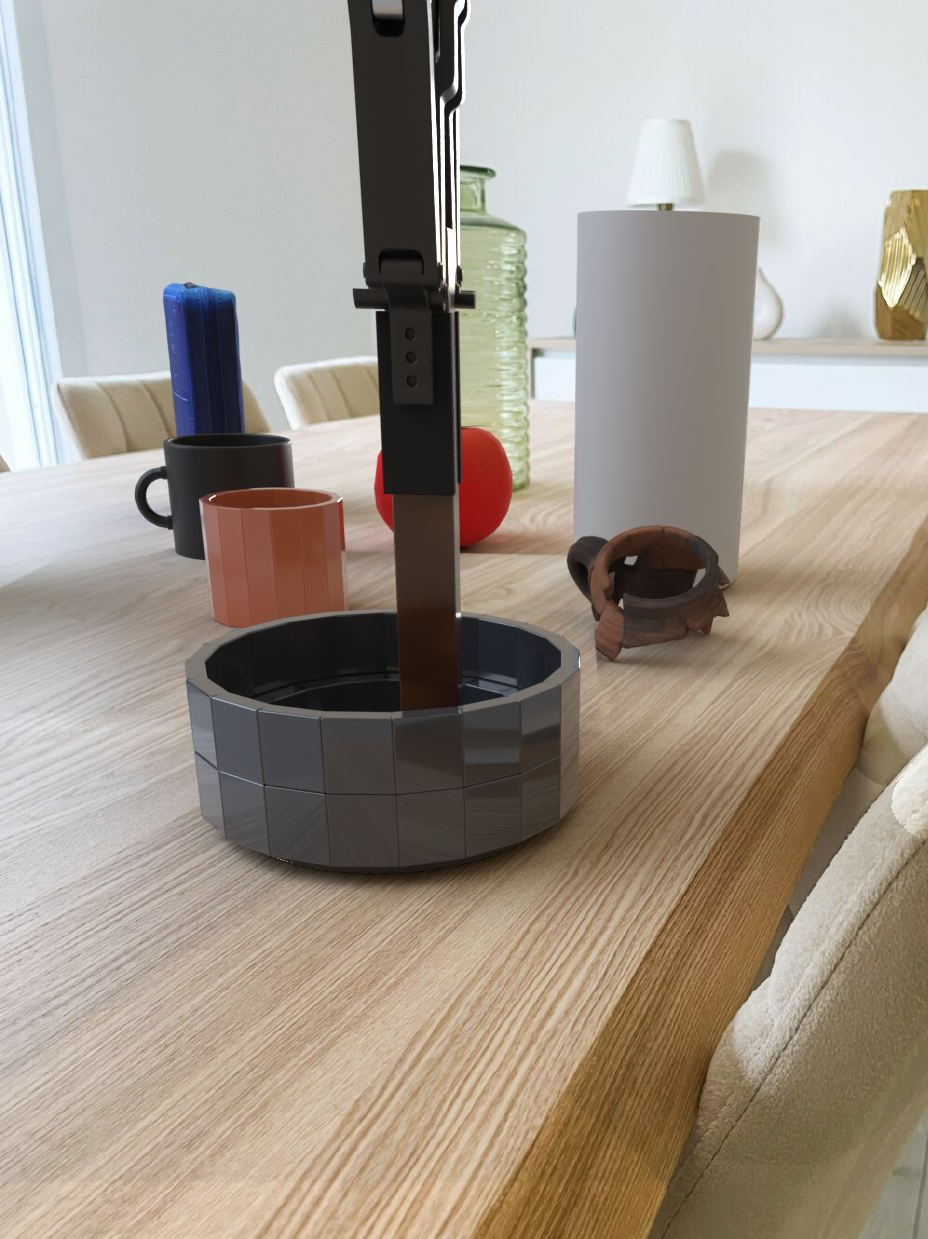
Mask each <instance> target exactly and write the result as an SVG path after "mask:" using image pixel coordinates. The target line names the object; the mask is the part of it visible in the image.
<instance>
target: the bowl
mask: <svg viewBox="0 0 928 1239" xmlns="http://www.w3.org/2000/svg"><path fill="white" fill-rule="evenodd" d="M461 641H462V693H463V705H462V706H457V707H446V708H434V709H423V710H411V711H401V703H400V678H399V654H398V629H397V608H372V609H354V610H349V611H336V612H324V613H317V614H310V615H303V616H296V617H289V618H282V619H278V620H274V621H270V622H266V623H262V624H258V625H254V626H250V627H246V628H242V629H240V628H237V629H236V630H232V631H230V632H227V633H226V634H223V635H220V636H218V637H216V638H214V639H212V640H210V641H207V642H205V643H203V644H201V645H200V646H199V647H198V648H196V650H195V651H194V652H193V653H192V654H191V655H190V656H188V658H187V659H186V660H184V661H183V670H184V672H183V673H184V679H185V688H186V698H187V705H188V713H189V722H190V731H191V740H192V748H193V757H194V764H195V772H196V774H195V775H196V782H197V790H198V799H199V806H200V815H201V817H202V819H203V820H205V821H206V823H208V825H209V826H211V827H212V828H213V829H215V831H217V832H218V834H220V836H222V837H223V838H224V839H225V840H226V839H227V841H230V842H232V843H235V844H237V845H239V846H243V847H245V848H247V849H250V850H253V851H256V852H258V853H260V852H261V853H260V854H262V853H263V854H262V855H265V854H266V855H265V856H267V855H268V856H267V857H269V856H271V857H270V858H272V857H274V858H273V859H275V858H279V859H282V860H285V862H284V863H286V861H288V862H289V863H288V864H290V863H291V862H292V863H293V864H292V865H294V864H296V865H295V866H298V865H300V866H299V867H302V866H304V867H303V868H307V867H309V869H313V868H315V869H314V870H319V869H324V870H323V871H325V870H331V871H330V872H335V871H339V872H338V873H345V872H347V874H349V873H348V872H351V873H350V874H353V873H352V872H356V873H355V874H368V873H371V874H372V875H373V874H375V875H376V874H398V873H397V872H403V873H414V872H423V870H424V871H430V870H439V869H444V868H449V867H454V866H459V865H460V866H461V865H464V864H467V863H471V862H475V861H479V860H483V859H486V858H488V857H491V856H494V855H497V854H500V853H502V852H505V851H507V850H509V849H512V848H514V847H516V846H518V845H520V844H521V843H523V842H525V841H526V840H528V839H529V838H532V837H533V836H535V835H537V834H539V833H541V832H542V831H545V830H547V829H548V828H550V827H551V826H554V825H556V824H558V823H559V822H560V821H561V820H562V819H563V817H565V815H567V813H568V812H569V810H571V808H572V807H573V806H574V804H575V803H576V802H577V801H578V799H579V791H580V790H579V789H580V788H579V787H580V786H579V785H580V731H581V730H580V727H581V726H580V725H581V723H580V722H581V721H580V720H581V671H582V670H581V652H580V650H579V649H578V648H577V647H576V646H575V645H573V644H572V643H571V642H570V641H569V640H567V638H565V637H564V636H563V635H561V634H558V633H556V632H553V631H551V630H549V629H545V628H543V627H540V626H538V625H535V624H532V623H530V622H526V621H520V620H515V619H511V618H506V617H501V616H496V615H492V614H487V613H479V612H478V613H477V612H467V611H461ZM316 868H318V869H316Z"/></svg>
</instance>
